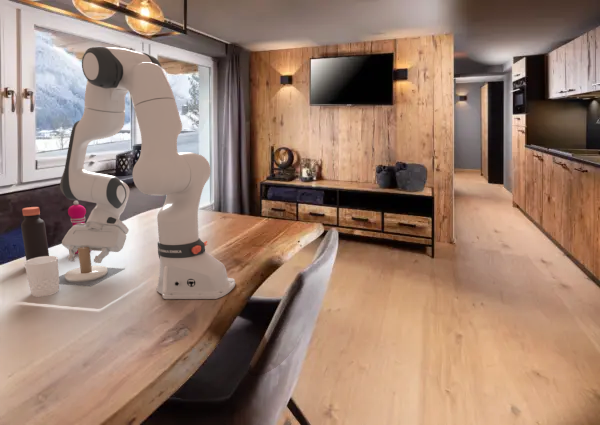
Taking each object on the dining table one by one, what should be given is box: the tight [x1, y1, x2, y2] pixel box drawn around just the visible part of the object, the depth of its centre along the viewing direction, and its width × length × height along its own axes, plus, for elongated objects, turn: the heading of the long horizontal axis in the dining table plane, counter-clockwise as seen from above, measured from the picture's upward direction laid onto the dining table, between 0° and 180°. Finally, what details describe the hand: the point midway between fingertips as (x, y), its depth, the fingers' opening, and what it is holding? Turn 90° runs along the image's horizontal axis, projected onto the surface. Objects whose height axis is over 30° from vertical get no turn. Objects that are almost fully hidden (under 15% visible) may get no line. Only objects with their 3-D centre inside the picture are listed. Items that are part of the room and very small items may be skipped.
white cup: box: [24, 255, 60, 298], centre depth 115 cm, size 8×8×10 cm
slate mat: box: [59, 267, 125, 287], centre depth 129 cm, size 16×16×1 cm
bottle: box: [20, 206, 50, 261], centre depth 140 cm, size 7×7×20 cm
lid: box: [64, 246, 108, 282], centre depth 128 cm, size 12×12×9 cm
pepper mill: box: [67, 200, 91, 255], centre depth 155 cm, size 7×7×20 cm
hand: (83, 261), depth 127 cm, fingers open, 8 cm apart
